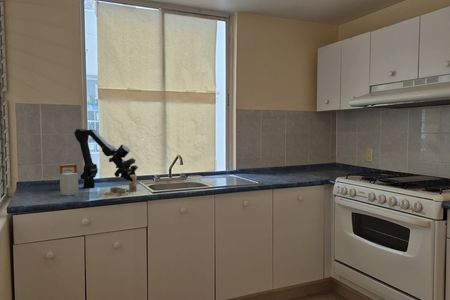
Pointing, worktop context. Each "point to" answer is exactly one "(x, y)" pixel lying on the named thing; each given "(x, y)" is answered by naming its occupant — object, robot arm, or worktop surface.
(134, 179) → the beech dowel
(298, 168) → the worktop surface
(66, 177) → the supplement box
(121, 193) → the balance ridge
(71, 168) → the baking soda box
